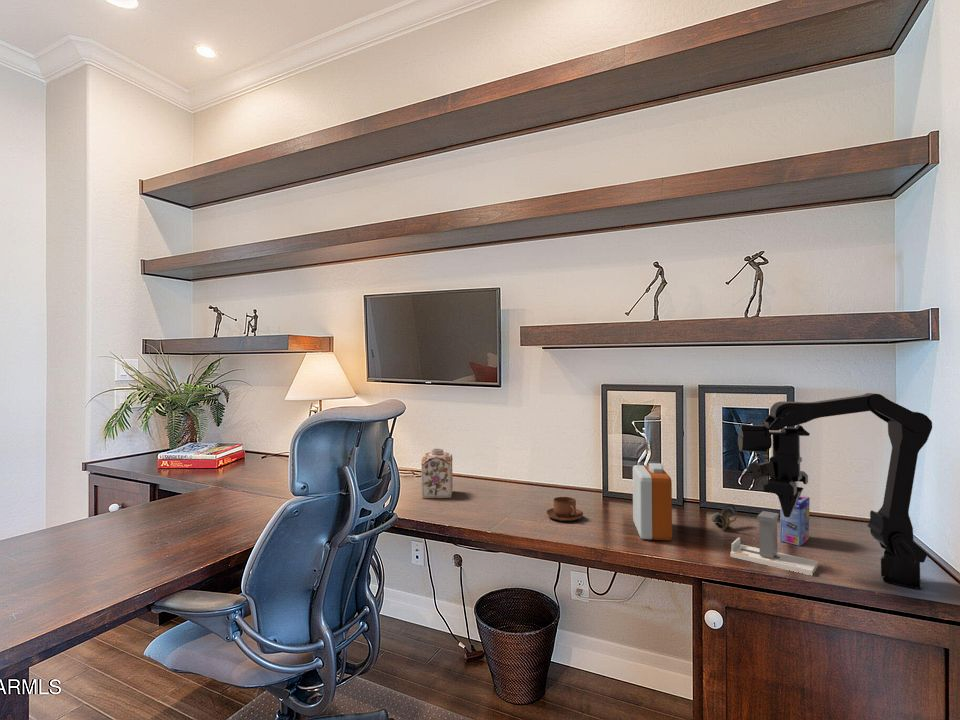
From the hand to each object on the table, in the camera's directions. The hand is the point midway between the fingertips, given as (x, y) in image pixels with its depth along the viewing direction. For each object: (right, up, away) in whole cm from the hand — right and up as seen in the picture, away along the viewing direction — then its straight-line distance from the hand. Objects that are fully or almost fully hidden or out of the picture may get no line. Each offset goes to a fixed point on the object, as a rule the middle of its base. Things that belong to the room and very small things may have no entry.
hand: (787, 516), depth 121 cm
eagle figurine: (+1, -14, +32) cm, 35 cm away
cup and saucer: (-47, -14, +43) cm, 65 cm away
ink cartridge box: (+15, -14, +21) cm, 29 cm away
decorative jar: (-92, -15, +74) cm, 119 cm away
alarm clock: (-23, -14, +29) cm, 40 cm away
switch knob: (-1, -12, +6) cm, 13 cm away
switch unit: (0, -13, +5) cm, 14 cm away
